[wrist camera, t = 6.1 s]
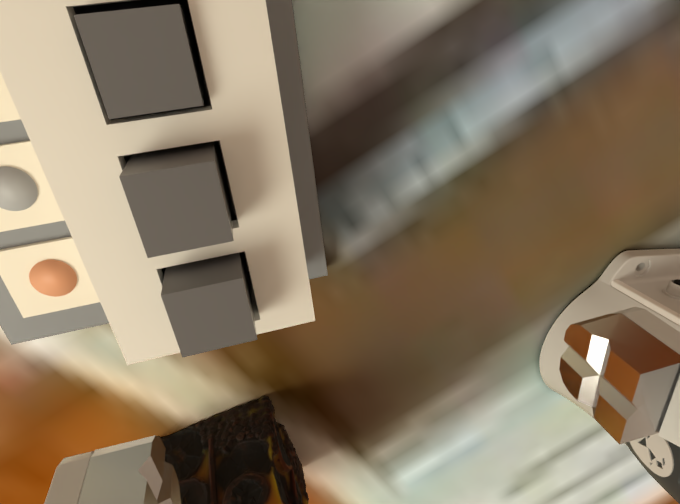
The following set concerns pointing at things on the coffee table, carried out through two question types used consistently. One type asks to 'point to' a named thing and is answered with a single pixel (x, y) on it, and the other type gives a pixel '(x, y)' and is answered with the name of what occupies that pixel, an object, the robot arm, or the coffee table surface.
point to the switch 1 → (143, 59)
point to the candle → (237, 459)
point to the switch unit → (137, 137)
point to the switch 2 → (178, 198)
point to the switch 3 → (209, 304)
